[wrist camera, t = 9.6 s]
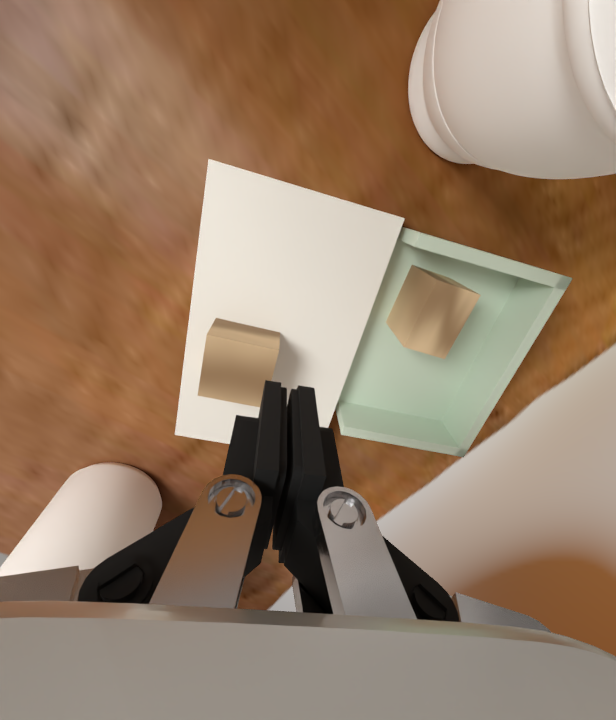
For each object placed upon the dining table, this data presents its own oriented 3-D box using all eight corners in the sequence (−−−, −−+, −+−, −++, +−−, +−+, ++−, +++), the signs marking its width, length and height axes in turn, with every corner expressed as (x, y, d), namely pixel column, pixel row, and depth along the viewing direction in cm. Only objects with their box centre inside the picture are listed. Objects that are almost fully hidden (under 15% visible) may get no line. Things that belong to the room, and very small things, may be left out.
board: (215, 161, 21) (208, 158, 19) (395, 216, 23) (404, 218, 21) (181, 419, 29) (174, 434, 27) (315, 443, 31) (316, 458, 29)
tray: (399, 225, 23) (420, 232, 19) (531, 265, 25) (572, 278, 21) (334, 404, 29) (341, 434, 26) (443, 426, 31) (463, 457, 28)
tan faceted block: (437, 279, 20) (480, 295, 20) (411, 264, 24) (449, 277, 24) (403, 347, 22) (444, 359, 22) (385, 322, 26) (420, 333, 26)
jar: (608, 40, 19) (1345, -299, 6) (484, 214, 23) (757, 249, 10) (468, -105, 16) (1259, -1387, 3) (354, 120, 20) (482, -12, 7)
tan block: (215, 317, 23) (206, 334, 21) (280, 332, 24) (279, 350, 21) (207, 373, 25) (197, 395, 22) (266, 385, 26) (264, 408, 23)
